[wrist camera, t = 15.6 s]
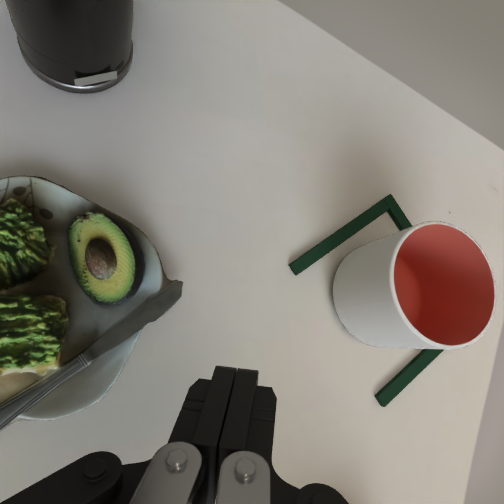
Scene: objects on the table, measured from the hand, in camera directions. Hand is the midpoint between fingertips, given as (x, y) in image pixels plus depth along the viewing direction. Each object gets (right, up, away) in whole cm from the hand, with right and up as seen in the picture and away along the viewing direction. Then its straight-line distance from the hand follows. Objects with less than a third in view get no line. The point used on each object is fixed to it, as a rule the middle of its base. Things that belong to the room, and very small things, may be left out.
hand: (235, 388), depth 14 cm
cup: (+13, 0, +27) cm, 30 cm away
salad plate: (-15, +2, +18) cm, 24 cm away
